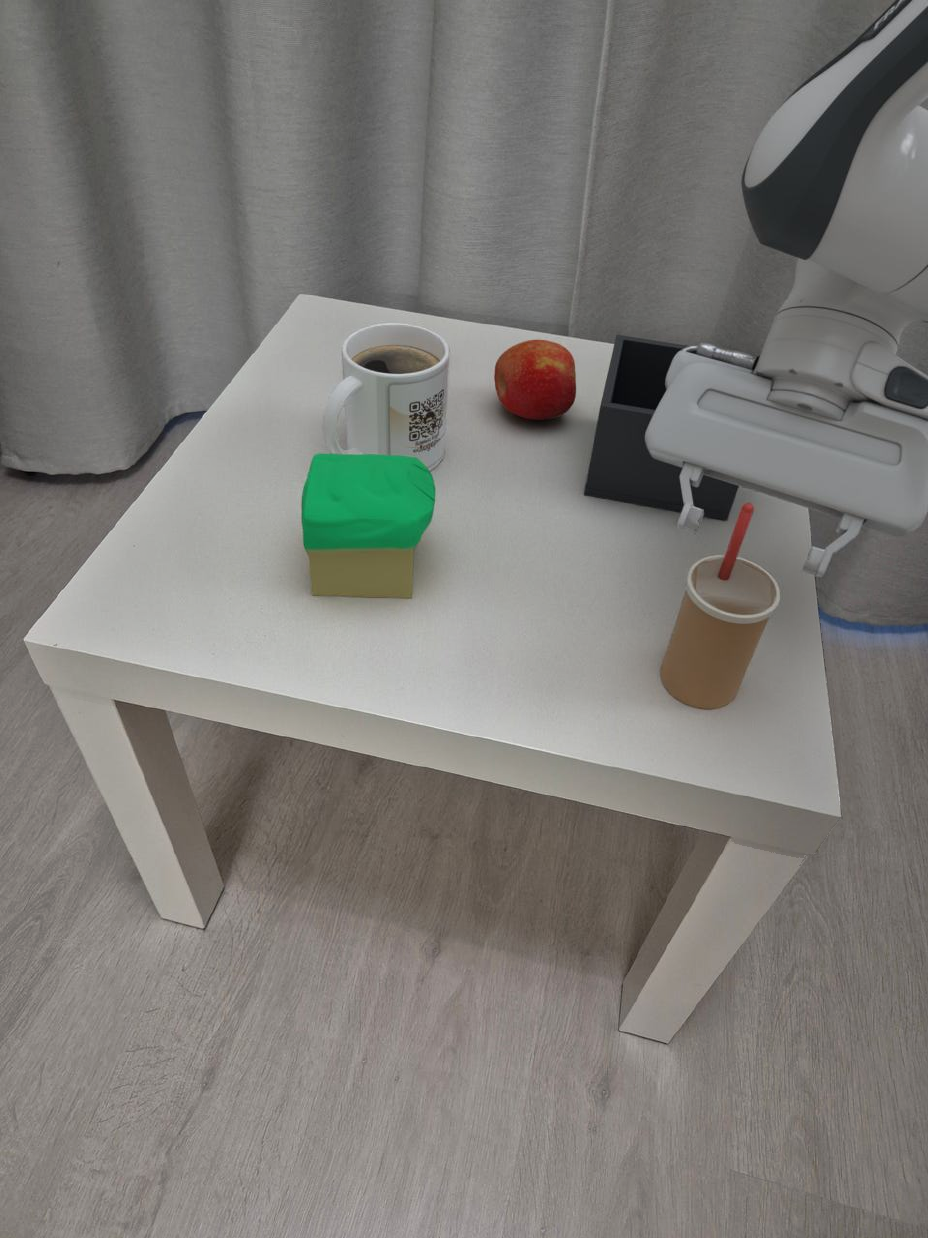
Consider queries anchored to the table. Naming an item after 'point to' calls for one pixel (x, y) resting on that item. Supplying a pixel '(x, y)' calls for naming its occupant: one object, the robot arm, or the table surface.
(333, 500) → the cake
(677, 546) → the table surface
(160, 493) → the table surface
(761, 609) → the paper cup
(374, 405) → the mug
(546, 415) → the apple
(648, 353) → the bin
